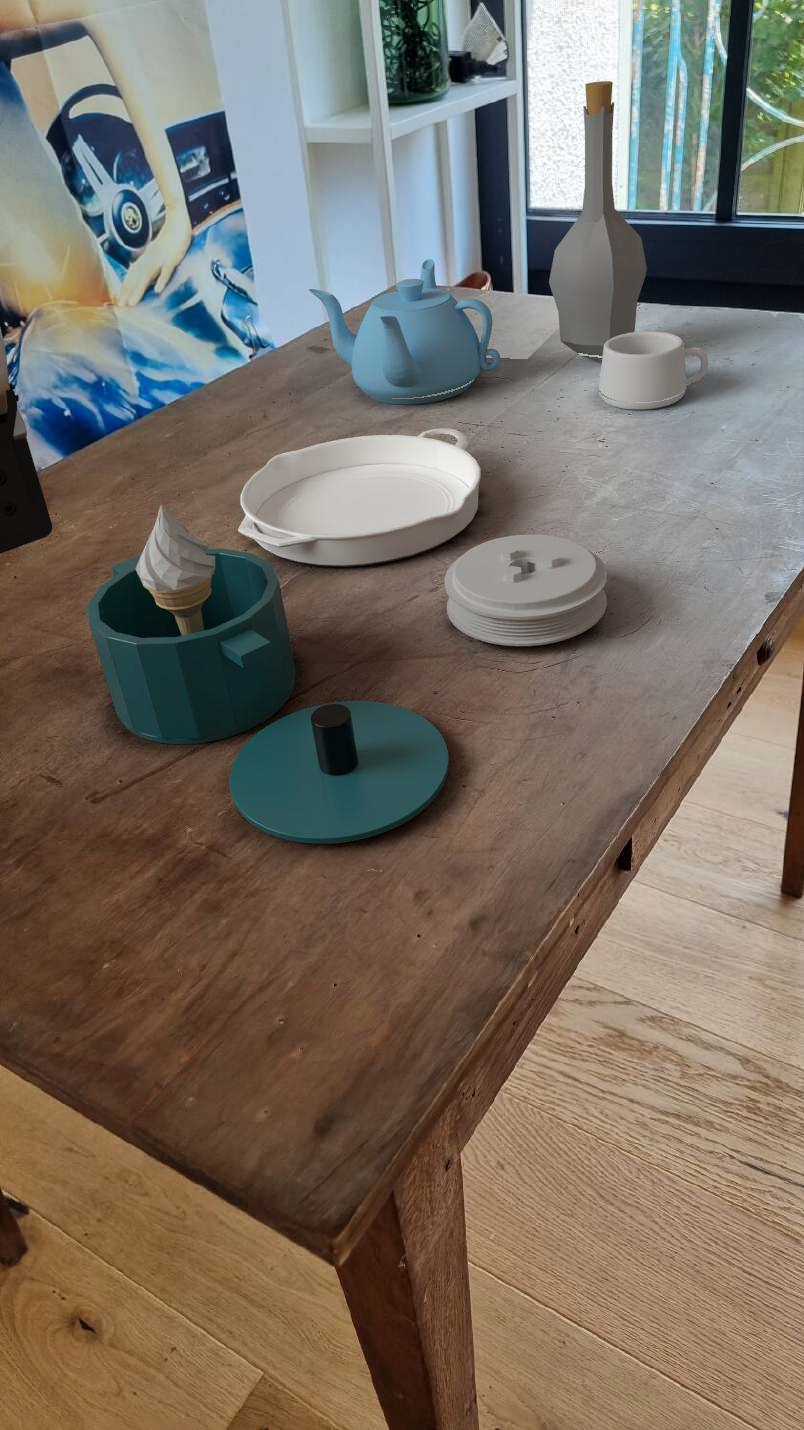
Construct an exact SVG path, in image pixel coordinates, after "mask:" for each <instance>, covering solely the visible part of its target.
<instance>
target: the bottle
mask: <svg viewBox="0 0 804 1430" xmlns="http://www.w3.org/2000/svg"><path fill="white" fill-rule="evenodd" d="M613 85H614V84H613V81H611V80H602V81H592V82H587V83H586V84H585V103H586V105H583V125H584V188H583V189H584V190H583V198H582V208H581V209H582V210H581V214H580V215H579V217H578V218H577V219H576V220H575V222H574V223H573V224H572V226H571V227H570V229H569V230H568V232H567V233H566V234H565V235H564V237H563V238H562V240H560V242H559V243H558V245H557V247H556V248H555V249H554V252H553V259H552V263H551V269H550V274H549V279H548V284H549V287H550V290H551V293H552V296H553V300H554V303H555V306H556V309H557V313H558V314H557V315H558V326H559V327H558V328H559V339H560V340H559V341H560V343H562V344H563V345H565V346H566V347H568V348H569V349H570V350H572V351H573V352H575V353H576V354H578V353H583V354H588V355H599V356H603V349H604V344H605V343H606V342H607V341H608V340H610V339H611V338H613V337H616V336H619V335H622V334H626V333H632V332H636V320H637V308H638V300H639V297H640V294H641V291H642V287H643V284H644V281H645V278H646V276H647V275H646V274H647V271H648V270H647V269H648V267H647V263H646V256H645V251H644V245H643V238H642V237H641V236H640V234H639V233H638V232H637V231H636V230H635V229H634V227H632V226H631V224H630V223H629V222H628V221H627V220H626V219H625V218H624V217H623V216H622V215H621V213H619V211H618V210H617V209H616V208H615V207H616V206H615V197H614V187H613V133H614V131H613V129H614V116H615V115H614V113H615V102H614V101H613V102H612V99H613ZM581 357H582V358H584V359H588V360H590V361H594V362H598V363H599V362H600V361H602V358H598V357H589V356H581Z"/></svg>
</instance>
